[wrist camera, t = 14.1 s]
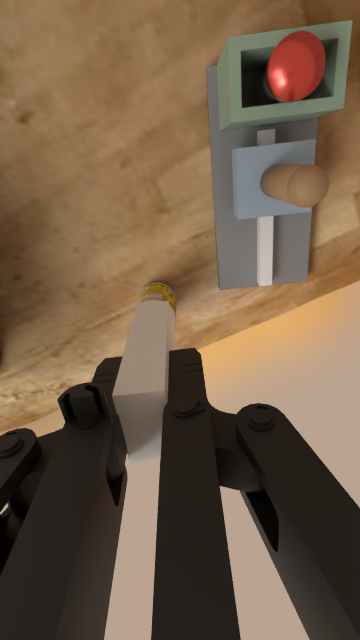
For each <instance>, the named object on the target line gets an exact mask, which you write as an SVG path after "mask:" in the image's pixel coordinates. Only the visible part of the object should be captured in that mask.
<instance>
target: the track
mask: <svg viewBox="0 0 360 640" xmlns="http://www.w3.org/2000/svg"><path fill="white" fill-rule="evenodd" d="M352 21H353V20H348V21H341V22H334V23H326V24H319V25H312V26H305V27H297V28H290V29H283V30H276V31H268V32H261V33H254V34H246V35H239V36H232V37H228V38H227V41H226V43H225V46H224V48H223V51H222V53H221V56H220V58H219V61H218V63H217V65H213V66H207V68H206V79H207V96H208V114H209V131H210V148H211V165H212V182H213V199H214V216H215V233H216V250H217V267H218V284H219V289H220V290H224V289H233V288H243V287H252V286H267V285H272V284H280V283H290V282H299V281H307V274H308V260H309V246H310V232H311V218H312V206H311V211H310V212H302V213H293V214H284V215H275V216H267V217H258V218H249V219H241V220H238V219H237V218H236V217H235V216H234V200H233V169H232V150H234V149H238V148H246V147H255V146H263V145H271V144H279V143H287V142H295V141H303V140H311V139H316V147H315V161H314V165H315V162H316V148H317V134H318V120H319V117H320V116H323V115H326V114H329V113H332V112H335V111H338V110H341V109H344V100H345V90H346V81H347V71H348V61H349V51H350V41H351V31H352ZM296 31H308V32H311V33H313V34H314V35H315V36H317V37H318V39H319V40H320V41H321V43H322V45H323V47H324V51H325V57H326V63H325V70H324V74H323V76H322V79H321V81H320V83H319V84H318V86H317V87H316V89H315V90H314V91H313V92H312V93H311V94H309V95H308V96H307V97H305V98H303V99H301V100H299V101H297V102H294V103H283V102H279V103H277V104H271V105H263V106H258V105H257V104H256V103H255V101H254V99H253V88H254V85H255V83H256V81H257V80H258V79H259V78H260V76H261V75H262V74H263V73H264V72H265V71H266V65H267V62H268V59H269V57H270V55H271V53H272V51H273V50H274V49H275V47H276V46H277V45H278V44H279V43H280V41H281V40H282V39H283V38H284V37H286V36H287V35H289V34H291V33H293V32H296Z"/></svg>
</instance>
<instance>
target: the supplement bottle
mask: <svg viewBox="0 0 360 640" xmlns="http://www.w3.org/2000/svg"><path fill="white" fill-rule="evenodd" d="M161 301H169V308H170V315H171V322H172V329H173V328H174V325H175V321H176V299H175V295H174V293H173V291H172V290H171V289H170V288H169V287H168V286H167V285H165V284H163V283H151V284H148V285H147V286H145V287H144V288H143V289H142V290H141V292H140V294H139V298H138V301H137V304H144V303H153V302H161ZM136 306H137V305H136Z"/></svg>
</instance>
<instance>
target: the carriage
mask: <svg viewBox="0 0 360 640" xmlns="http://www.w3.org/2000/svg"><path fill="white" fill-rule="evenodd" d="M315 147H316V139H311V140H303V141H295V142H287V143H279V144H271V145H263V146H255V147H246V148H238V149H234V150H232V169H233V200H234V216H235V217H236V218H237V219H238V220H241V219H249V218H258V217H267V216H275V215H284V214H293V213H302V212H310V211H311V206H314V205H316V204H317V203H319V202H320V201H321V200H322V199H323V198H324V196H325V195H326V193H327V190H328V186H329V180H328V176H327V174H326V172H325V171H324V170H323V169H322V168H321V167H319V166H317V165H314V161H315Z"/></svg>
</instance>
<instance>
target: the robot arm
mask: <svg viewBox="0 0 360 640" xmlns="http://www.w3.org/2000/svg"><path fill="white" fill-rule="evenodd" d="M0 356H1V355H0ZM58 403H59V406H60V408H61V411H62V414H63V416H64V419H65V424H64V427H63V428H62V429H60V430H57V431H55V432H52V433H49V434H46V435H43V436H40V437H36V435H35V433H34V432H33V431H32V430H30V429H27V428H22V429H15V430H12V431H9V432H7V433H5V434H3V435H2V436H0V512H1V510H2V509H3V507H4V506H5V505H6V503H7V504H8V508H7V509H6V510H5V511H4V512H3V513H2V514H0V640H104V635H105V627H106V621H107V614H108V608H109V601H110V594H111V587H112V580H113V574H114V567H115V560H116V553H117V547H118V540H119V533H120V525H121V519H122V512H123V505H124V499H125V492H126V485H127V470H126V467H125V460H126V454H128V457H129V462H130V463H134V462H144V461H155V460H160V478H159V498H158V518H157V537H156V558H155V576H154V577H155V578H154V595H153V616H152V636H151V640H241V639H240V631H239V624H238V617H237V610H236V603H235V595H234V588H233V581H232V573H231V566H230V559H229V551H228V544H227V537H226V530H225V523H224V515H223V508H222V500H221V493H220V486H223V487H227V488H231V489H236V490H240V492H241V495H242V497H243V499H244V501H245V503H246V506H247V508H248V510H249V512H250V514H251V516H252V518H253V520H254V522H255V524H256V527H257V529H258V531H259V533H260V535H261V537H262V540H263V541H264V544H265V546H266V548H267V550H268V552H269V554H270V556H271V559H272V561H273V563H274V565H275V567H276V569H277V571H278V573H279V576H280V578H281V580H282V582H283V584H284V586H285V588H286V590H287V593H288V594H289V597H290V599H291V601H292V603H293V605H294V607H295V609H296V612H297V614H298V616H299V618H300V620H301V622H302V624H303V626H304V628H305V631H306V633H307V635H308V637H309V639H310V640H360V508H359V507H358V505H357V504H356V503H355V502H354V500H353V499H352V498H351V497H350V495H349V494H348V493H347V492H346V490H345V489H344V488H343V487H342V486H341V484H340V483H339V482H338V481H337V479H336V478H335V477H334V476H333V474H332V473H331V472H330V471H329V469H328V468H327V467H326V466H325V465H324V464H323V462H322V461H321V460H320V459H319V457H318V456H317V455H316V453H315V452H314V451H313V450H312V448H311V447H310V446H309V445H308V444H307V442H306V441H305V440H304V439H303V437H302V436H301V435H300V434H299V432H298V431H297V430H296V429H295V428H294V426H293V425H292V424H291V423H290V421H289V420H288V419H287V418H286V416H285V415H284V414H283V413H282V412H281V411H280V410H278V409H277V408H275V407H273V406H270V405H268V404H260V403H257V404H250V405H248V406H246V407H243V408H242V409H241V410H240V411H239V412H238V413H237V414H231V413H226V412H222V411H219V410H217V409H215V408H214V407H212V406H211V405H210V403H209V402H208V399H207V395H206V388H205V381H204V374H203V367H202V360H201V354H200V353H199V352H198V351H197V350H196V349H195V348H189V349H180V350H175V343H174V336H173V329H172V322H171V315H170V308H169V301H161V302H153V303H144V304H137V306H136V309H135V313H134V317H133V320H132V324H131V328H130V332H129V335H128V339H127V343H126V346H125V350H124V354H123V357H114V358H105V359H104V360H103V361H102V362H101V363H100V364H99V365H98V366H97V369H96V372H95V374H94V377H93V379H92V382H91V383H83V384H78V385H76V386H74V387H71V388H69V389H68V390H66V391H65V392H64V393H62V394H61V396H60V397H59V398H58Z"/></svg>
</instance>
